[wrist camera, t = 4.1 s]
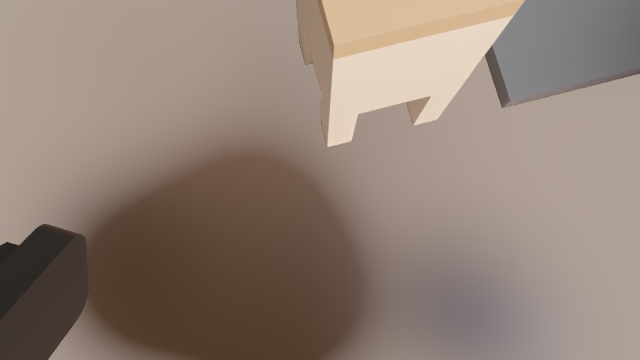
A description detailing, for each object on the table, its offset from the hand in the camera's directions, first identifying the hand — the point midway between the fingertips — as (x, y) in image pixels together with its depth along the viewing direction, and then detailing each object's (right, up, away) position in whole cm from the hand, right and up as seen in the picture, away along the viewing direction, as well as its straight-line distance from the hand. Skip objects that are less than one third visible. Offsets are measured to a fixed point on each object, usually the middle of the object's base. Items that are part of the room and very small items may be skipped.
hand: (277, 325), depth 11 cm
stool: (+3, +8, +17) cm, 19 cm away
